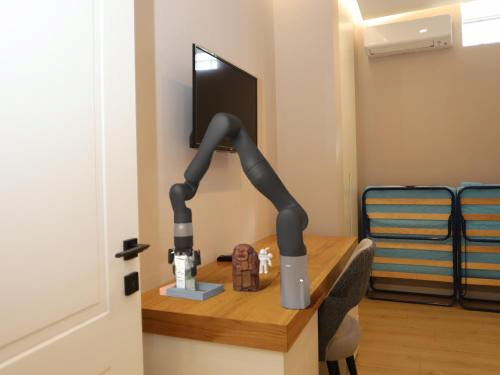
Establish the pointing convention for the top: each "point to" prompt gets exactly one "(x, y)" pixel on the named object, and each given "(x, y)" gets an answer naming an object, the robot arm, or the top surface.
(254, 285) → the wooden figurine
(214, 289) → the keyhole board
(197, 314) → the top surface
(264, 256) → the flower shoulder figurine
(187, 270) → the syrup box
